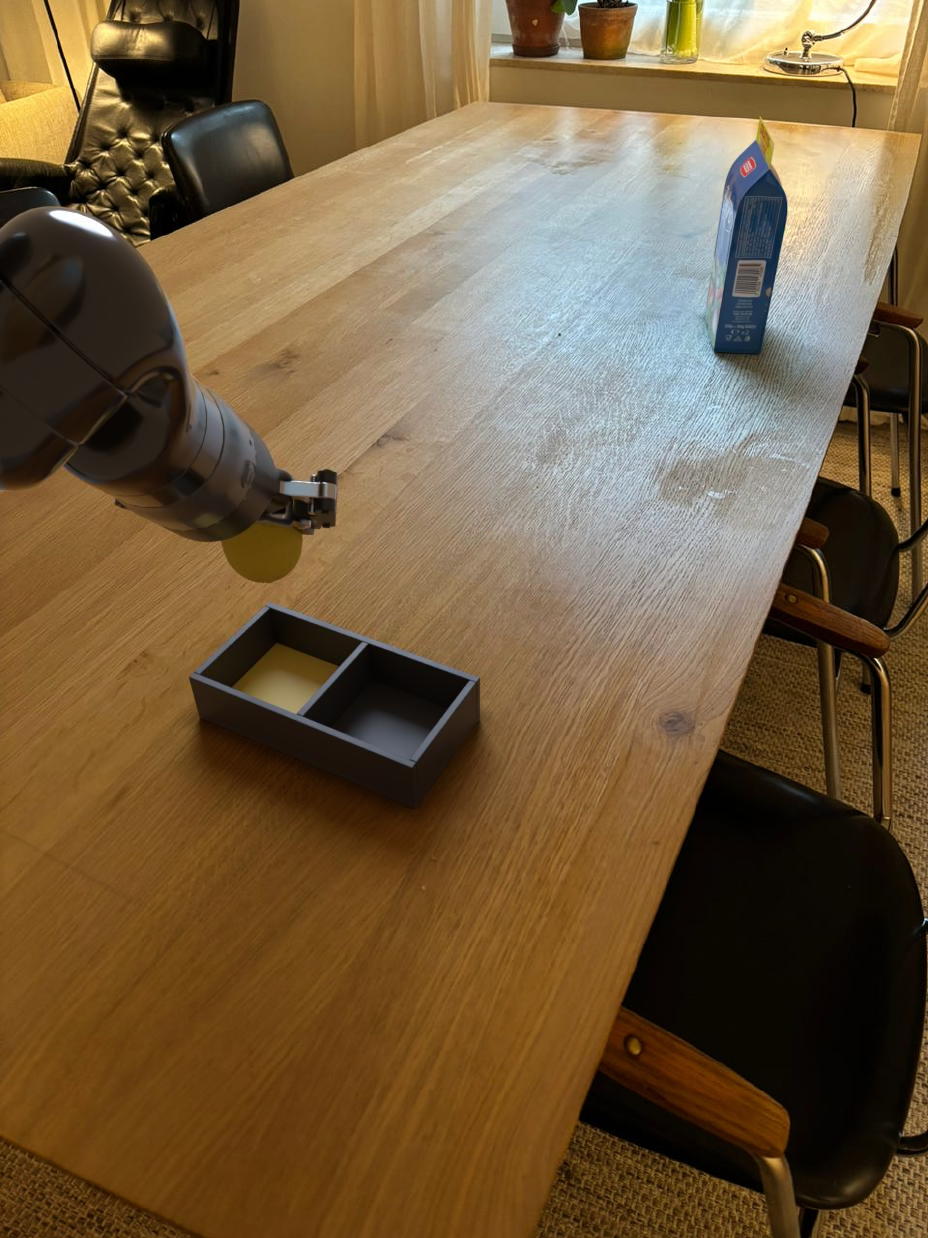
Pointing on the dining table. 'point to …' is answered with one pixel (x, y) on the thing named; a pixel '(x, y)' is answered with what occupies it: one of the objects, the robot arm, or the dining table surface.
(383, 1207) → the dining table surface
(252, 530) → the lemon
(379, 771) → the sorter
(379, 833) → the dining table surface
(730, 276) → the blue food package
